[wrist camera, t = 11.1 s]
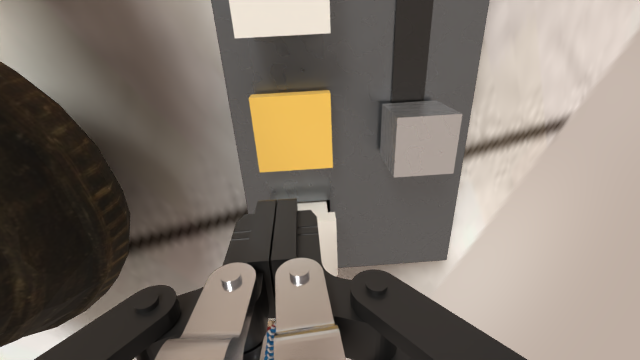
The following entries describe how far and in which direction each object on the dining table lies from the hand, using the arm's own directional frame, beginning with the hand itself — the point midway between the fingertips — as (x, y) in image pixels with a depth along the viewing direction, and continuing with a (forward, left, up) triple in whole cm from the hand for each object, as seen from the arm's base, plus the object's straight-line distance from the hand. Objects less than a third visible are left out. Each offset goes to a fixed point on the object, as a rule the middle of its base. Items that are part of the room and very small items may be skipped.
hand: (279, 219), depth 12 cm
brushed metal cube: (+9, 0, -12) cm, 15 cm away
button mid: (0, 0, -16) cm, 16 cm away
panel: (+5, 0, -17) cm, 17 cm away
